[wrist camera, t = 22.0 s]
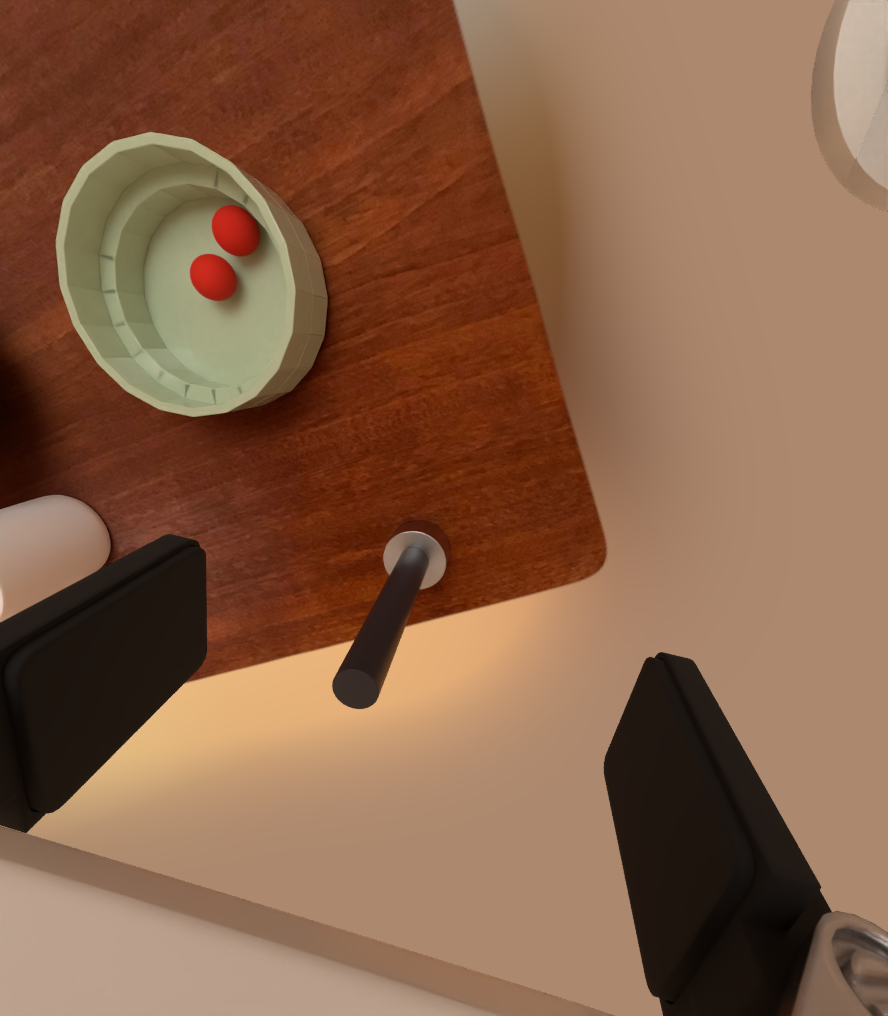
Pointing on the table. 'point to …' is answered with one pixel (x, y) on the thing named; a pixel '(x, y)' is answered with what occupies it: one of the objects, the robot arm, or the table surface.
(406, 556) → the dark post
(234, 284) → the tomato
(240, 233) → the tomato
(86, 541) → the cup
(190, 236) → the mixing bowl
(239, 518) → the table surface
